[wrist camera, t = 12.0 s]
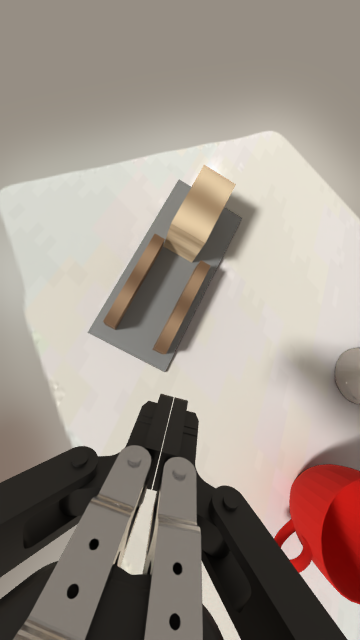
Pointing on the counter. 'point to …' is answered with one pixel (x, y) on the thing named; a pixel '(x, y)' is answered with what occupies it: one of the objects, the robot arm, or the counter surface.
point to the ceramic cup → (327, 525)
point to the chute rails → (137, 280)
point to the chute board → (163, 286)
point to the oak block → (198, 214)
